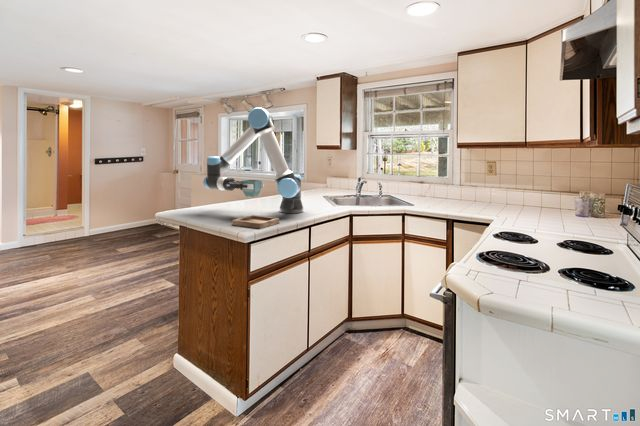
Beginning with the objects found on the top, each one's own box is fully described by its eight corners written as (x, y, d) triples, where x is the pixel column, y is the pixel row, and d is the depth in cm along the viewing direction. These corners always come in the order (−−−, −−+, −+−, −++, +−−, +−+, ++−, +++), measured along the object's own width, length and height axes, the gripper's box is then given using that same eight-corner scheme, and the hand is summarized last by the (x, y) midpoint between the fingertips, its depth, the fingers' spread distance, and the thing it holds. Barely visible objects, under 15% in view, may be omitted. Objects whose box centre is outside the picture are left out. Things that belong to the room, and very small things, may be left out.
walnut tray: (253, 219, 192) (253, 215, 192) (279, 223, 185) (279, 218, 184) (232, 224, 177) (232, 220, 177) (260, 228, 170) (260, 223, 169)
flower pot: (262, 196, 201) (262, 180, 200) (255, 197, 193) (255, 181, 191) (248, 195, 204) (248, 179, 202) (240, 196, 195) (240, 180, 194)
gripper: (239, 188, 216) (269, 191, 206) (213, 191, 196) (246, 194, 186) (238, 176, 214) (269, 178, 205) (213, 178, 195) (245, 180, 185)
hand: (258, 186), depth 195 cm, fingers closed on flower pot, 9 cm apart
